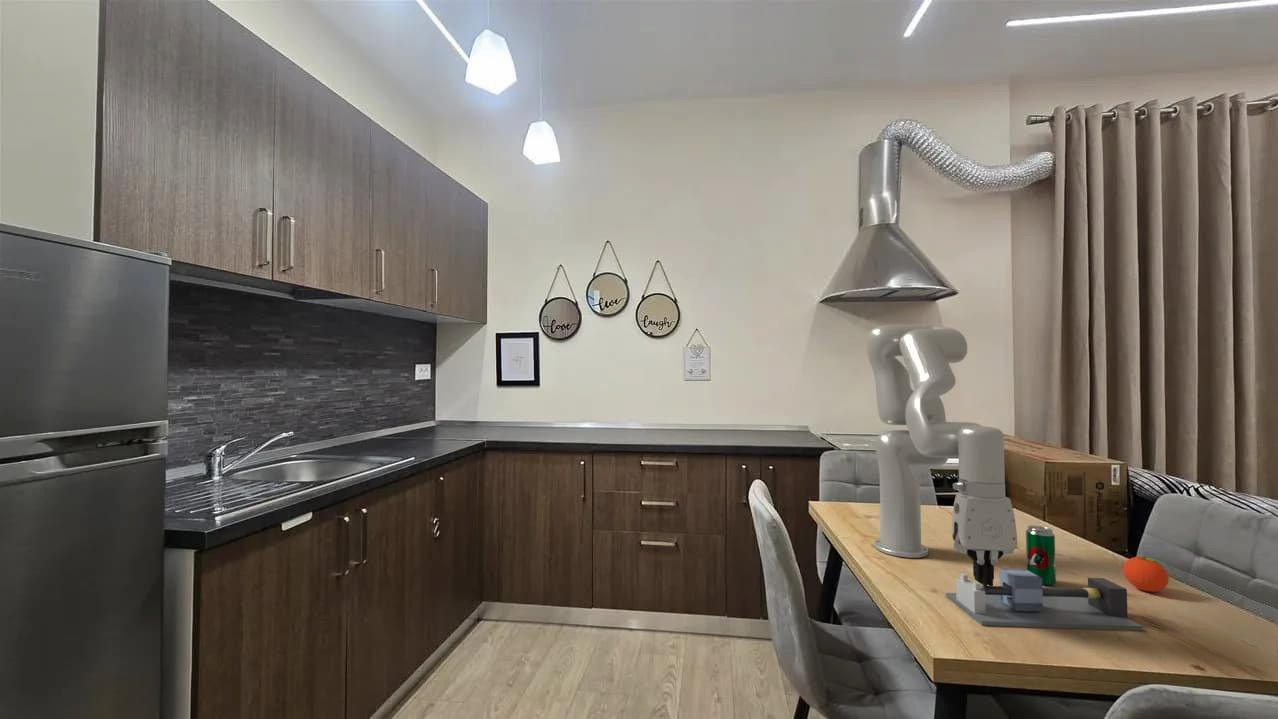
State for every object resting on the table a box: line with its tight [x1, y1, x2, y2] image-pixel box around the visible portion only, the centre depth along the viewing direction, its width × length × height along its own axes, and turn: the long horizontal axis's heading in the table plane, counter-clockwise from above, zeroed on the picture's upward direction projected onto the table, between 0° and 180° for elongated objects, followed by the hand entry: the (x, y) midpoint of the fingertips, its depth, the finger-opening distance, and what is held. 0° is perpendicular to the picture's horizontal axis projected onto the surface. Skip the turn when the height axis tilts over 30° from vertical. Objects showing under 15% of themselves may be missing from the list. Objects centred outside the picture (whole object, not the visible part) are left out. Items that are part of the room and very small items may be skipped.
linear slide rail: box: [945, 573, 1144, 632], centre depth 96 cm, size 28×12×6 cm, turn 86°
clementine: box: [1122, 556, 1174, 593], centre depth 106 cm, size 8×7×7 cm
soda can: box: [1025, 525, 1057, 587], centre depth 111 cm, size 5×5×12 cm
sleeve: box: [999, 568, 1043, 611], centre depth 97 cm, size 5×4×6 cm
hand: (983, 582), depth 97 cm, fingers closed
